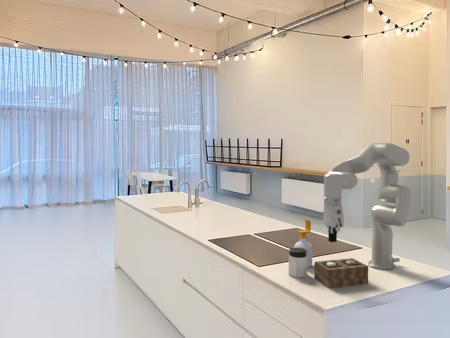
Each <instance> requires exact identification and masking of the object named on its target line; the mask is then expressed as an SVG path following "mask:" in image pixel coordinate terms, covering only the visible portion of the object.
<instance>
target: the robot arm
mask: <svg viewBox="0 0 450 338" xmlns="http://www.w3.org/2000/svg"><path fill="white" fill-rule="evenodd" d="M410 159H411V158H410V152H409V151H408V150H407V149H406V148H404V147H401V146H399V145H396V144H394V143H390V142H373V143H369V144H368V145H367V146H366V147H364V148H363V149H362V150H361V151H360V152H359V153H358V154H356V156H354V157H352V158H350V159H348V160H345V161H342V162H339V163H338V164H336V165H335V166H334V167H332V168H331V169H330V171H329V172H328V173H326V174H324V175H323V212H322V213H323V214H322V220H323V223H324V226H325V227H326V228H327V233H328V235H327V236H328V237H327V238H328V242H330V243H337V241H338V239H337V238H338V237H337V236H338V235H337V234H338V232H341V228H343V227H344V226H345V224H344V209H343V205H342V192H343V191H342V190H344V189H345V190H350V189H353V188H356V186H357V184H358V182H359V181H358V179H359V178H358V177H357V174H362V173H365V172H367V171H369V170H370V169H371V168H372V167H373V166H374V165H375V164H376V165H377V166H378V168H379V171H380V177H379V183H378V187H377V188H378V190H377V200H379V201H381V202H383V203H390V204H396V205H389V204H381V203H380V204H379V203H378V204H375V205H373V207H371V209H370V218H371V225H372V228H371V229H372V233H371V234H372V236H371V239H372V240H371V260H369V261H368V265H367V266H368V267H369V266H370V267H371V268H374V269H377V270H385V271H388V270H394V269H395V268H396V265H395V263H398V262H400V260H401V259H400V257H394V256H393V238H394V237H393V236H394V234H393V233H394V232H393V230H392V226H395V227H399V228H400V227H404V226H406V225H407V223H408V220H409V213H410V211H411V210H410V208H411V204H412V203H411V202H412V191H411V189H410V187H409V186H407V185H404V184H403V185H402V184H399V172H398V170H397V167H404V166H407V164H408V163H409V161H410Z"/></svg>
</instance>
